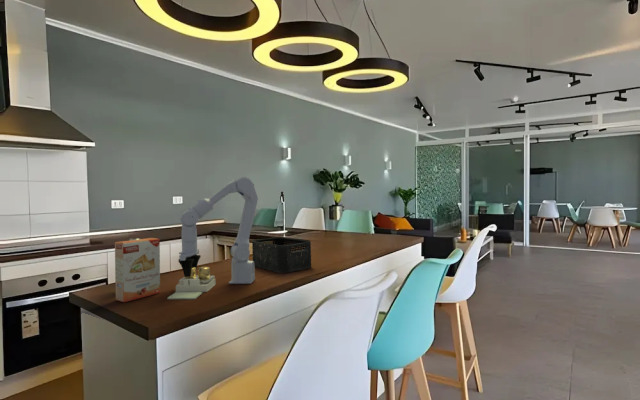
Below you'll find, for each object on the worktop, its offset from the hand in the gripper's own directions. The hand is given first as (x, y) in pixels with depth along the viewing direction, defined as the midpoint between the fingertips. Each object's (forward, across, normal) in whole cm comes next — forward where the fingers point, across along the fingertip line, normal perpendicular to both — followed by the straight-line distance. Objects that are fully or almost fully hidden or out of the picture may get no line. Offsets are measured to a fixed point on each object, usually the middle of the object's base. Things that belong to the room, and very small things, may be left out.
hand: (190, 275), depth 140 cm
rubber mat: (+5, +12, +3) cm, 13 cm away
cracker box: (+5, +12, -14) cm, 19 cm away
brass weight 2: (+1, 0, +6) cm, 6 cm away
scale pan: (+3, 0, +3) cm, 4 cm away
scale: (+5, +1, +3) cm, 6 cm away
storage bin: (+5, -38, +31) cm, 49 cm away
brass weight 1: (+1, 0, 0) cm, 1 cm away
